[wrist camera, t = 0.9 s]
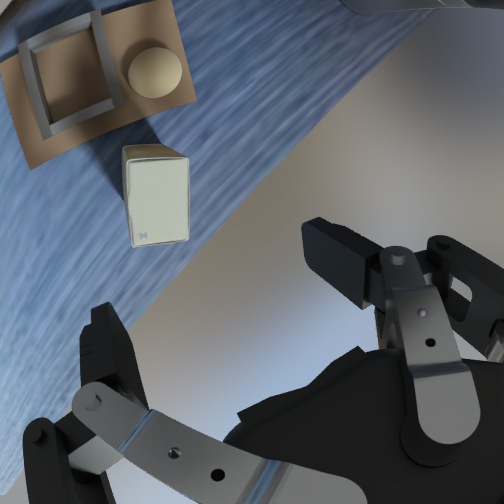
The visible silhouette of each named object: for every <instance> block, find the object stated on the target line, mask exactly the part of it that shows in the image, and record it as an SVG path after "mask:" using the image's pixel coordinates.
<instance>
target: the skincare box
mask: <svg viewBox="0 0 504 504" xmlns="http://www.w3.org/2000/svg"><path fill="white" fill-rule="evenodd" d="M122 181H123V195H124V203H125V210H126V216H127V223H128V229H129V235H130V240H131V246H132V247H141V246H151V245H160V244H168V243H175V242H181V241H187V240H188V239H189V226H190V186H189V158H188V157H186V156H184V155H182V154H180V153H178V152H176V151H175V150H173V149H171V148H169V147H167V146H165V145H163V144H137V145H125V146H123V147H122Z"/></svg>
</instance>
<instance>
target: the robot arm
mask: <svg viewBox="0 0 504 504" xmlns="http://www.w3.org/2000/svg"><path fill="white" fill-rule="evenodd" d="M341 2H342V3H343V4H344V5H345V6H346V7H347V8H349V9H350V10H351V11H353V12H355V13H357V14H360V15H373V14H379V13H386V12H395V11H404V10H414V9H427V8H447V7H448V8H452V7H475V8H479V7H480V8H493V9H503V10H504V0H341ZM301 230H302V240H303V248H304V257H305V260H306V263H307V265H308V266H309V267H310V269H312V270H313V271H314V272H315V273H316V274H318V275H319V276H320V277H322V278H323V279H324V280H325V281H327V282H328V283H329V284H331V285H332V286H333V287H334V288H335V289H337V290H338V291H339V292H340V293H342V294H343V295H344V296H345V297H347V298H348V299H349V300H350V301H351V302H353V303H354V304H355V305H357V306H358V307H359V308H360V309H361V310H363V309H365V308H367V307H368V306H370V305H371V304H373V305H374V306H375V310H374V314H375V321H376V329H377V337H378V346H379V350H373V351H369V352H366V353H365V352H364V351H363V350H362V349H361V348H360V347H359V346H357V347H355V348H354V349H352V350H350V351H349V352H347V353H346V354H344V355H343V356H341V357H339V358H338V359H336V360H334V361H333V362H331V363H330V365H328V366H327V367H326V368H325V369H324V371H322V372H321V374H319V375H318V376H317V377H316V378H315V379H314V380H313V381H312V382H311V383H310V384H309V385H307V386H305V387H303V388H300V389H296V390H293V391H289V392H286V393H282V394H279V395H275V396H271V397H269V398H267V399H265V400H263V401H261V402H259V403H257V404H255V405H253V406H250V407H248V408H247V409H244V410H242V411H240V412H238V413H237V415H238V417H239V419H240V421H241V422H240V423H239V424H238V425H237V426H235V427H234V428H233V429H232V430H231V431H230V432H229V433H228V435H227V436H226V437H225V439H224V440H223V442H221V441H219V440H216V439H214V438H212V437H209V436H207V435H205V434H203V433H201V432H199V431H196V430H194V429H192V428H190V427H188V426H186V425H184V424H182V423H180V422H178V421H176V420H174V419H172V418H170V417H168V416H166V415H165V414H163V413H161V412H159V411H157V410H154V409H151V410H149V407H148V403H147V400H146V396H145V392H144V389H143V385H142V381H141V377H140V373H139V369H138V365H137V361H136V357H135V352H134V348H133V344H132V341H131V339H130V337H129V334H128V332H127V331H126V329H125V327H124V326H123V324H122V322H121V320H120V319H119V317H118V315H117V313H116V312H115V310H114V308H113V306H112V305H111V303H110V302H106V303H104V304H101V305H99V306H97V307H94V308H92V309H91V324H89V325H86V326H84V328H83V330H82V333H81V335H80V376H81V388H80V389H79V390H78V391H77V392H76V394H75V396H74V398H73V400H72V411H71V412H70V413H68V414H67V415H66V416H64V417H63V418H61V419H60V420H59V421H57V422H56V423H52V422H51V421H50V420H49V419H47V418H43V417H42V418H37V419H35V420H33V421H32V422H31V423H29V425H28V426H27V427H26V429H25V431H24V434H23V456H24V468H25V476H26V485H27V492H28V499H29V504H116V502H115V499H114V496H113V493H112V490H111V487H110V483H109V480H108V477H107V473H106V469H108V468H109V467H111V466H112V465H114V464H115V463H116V462H118V461H119V460H120V459H122V458H123V457H125V458H126V459H128V460H129V461H131V462H132V463H133V464H135V465H137V466H138V467H139V468H141V469H142V470H144V471H145V472H147V473H148V474H150V475H151V476H153V477H154V478H156V479H157V480H159V481H161V482H162V483H164V484H165V485H167V486H169V487H170V488H172V489H174V490H175V491H177V492H179V493H180V494H182V495H184V496H186V497H188V498H190V499H191V500H193V501H195V502H197V503H199V504H504V269H503V268H501V267H500V266H498V265H497V264H495V263H493V262H492V261H490V260H489V259H487V258H485V257H483V256H482V255H480V254H479V253H477V252H475V251H474V250H472V249H470V248H469V247H467V246H465V245H463V244H462V243H460V242H458V241H456V240H455V239H453V238H451V237H448V236H444V235H436V236H433V237H430V238H429V239H428V242H427V250H423V251H419V252H415V253H413V252H412V251H411V250H410V249H408V248H405V247H401V246H390V247H386V248H383V247H381V246H379V245H378V244H376V243H374V242H372V241H371V240H369V239H367V238H365V237H363V236H361V235H360V234H358V233H356V232H354V231H353V230H351V229H349V228H347V227H345V226H342V225H338V224H334V223H333V224H332V223H330V222H328V221H326V220H325V219H323V218H321V217H317V218H314V219H312V220H309V221H307V222H304V223H303V224H302V227H301ZM453 277H455V278H457V279H458V280H460V281H462V282H463V283H464V284H466V285H467V286H469V288H470V289H471V291H472V300H471V302H470V301H468V300H467V299H466V298H464V297H463V296H462V295H460V294H459V293H457V292H456V291H455V290H453V289H452V288H451V285H452V281H453ZM452 330H454V331H455V332H456V333H457V334H459V335H460V336H461V337H462V338H463V339H465V340H466V341H467V342H468V343H469V344H471V345H472V346H473V347H474V348H475V349H476V350H478V351H479V352H480V353H481V354H482V355H483V356H485V357H486V359H487V361H480V360H471V359H463V358H461V357H460V353H459V350H458V347H457V343H456V340H455V337H454V334H453V331H452Z"/></svg>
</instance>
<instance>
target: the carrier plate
mask: <svg viewBox="0 0 504 504" xmlns="http://www.w3.org/2000/svg"><path fill="white" fill-rule="evenodd" d="M18 50H19V53H17V54H16V55H14V56H12V57H10V58H9V59H7V60H5V61H4V62H2V63H0V73H1V77H2V82H3V86H4V90H5V94H6V98H7V102H8V105H9V109H10V112H11V116H12V119H13V122H14V126H15V129H16V132H17V135H18V138H19V141H20V144H21V147H22V150H23V152H24V155H25V158H26V161H27V163H28V166H29V168H30V170H32V169H33V168H35V167H37V166H39V165H41V164H43V163H44V162H46V161H48V160H50V159H52V158H54V157H56V156H58V155H60V154H62V153H64V152H66V151H68V150H70V149H72V148H74V147H76V146H78V145H80V144H83V143H85V142H87V141H89V140H91V139H94V138H96V137H98V136H100V135H103V134H105V133H107V132H110V131H112V130H115V129H117V128H119V127H122V126H124V125H127V124H130V123H132V122H135V121H137V120H140V119H143V118H146V117H148V116H151V115H154V114H157V113H160V112H163V111H166V110H169V109H172V108H175V107H178V106H181V105H184V104H187V103H191V102H194V101H197V98H196V94H195V90H194V86H193V83H192V79H191V75H190V71H189V67H188V64H187V60H186V56H185V52H184V48H183V44H182V41H181V37H180V33H179V29H178V25H177V21H176V17H175V13H174V9H173V6H172V2H171V0H155V1H151V2H147V3H143V4H139V5H135V6H132V7H128V8H125V9H121V10H118V11H115V12H112V13H109V14H106V15H103V16H102V15H101V11H100V9H97V10H94V11H91V12H89V13H86V14H83V15H81V16H78V17H75V18H73V19H71V20H68V21H66V22H63V23H61V24H59V25H57V26H54V27H52V28H50V29H48V30H46V31H44V32H41V33H39V34H37V35H35V36H33V37H31V38H30V39H28V40H26V41H24V42H22V43H20V44H18Z"/></svg>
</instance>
